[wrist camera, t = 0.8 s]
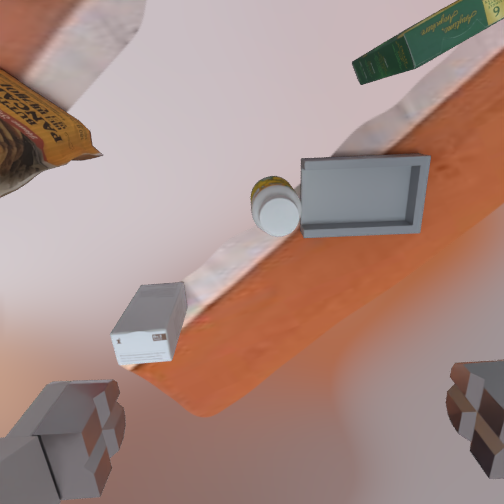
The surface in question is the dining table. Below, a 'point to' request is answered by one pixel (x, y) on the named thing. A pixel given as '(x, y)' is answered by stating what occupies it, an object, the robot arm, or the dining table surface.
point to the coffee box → (428, 39)
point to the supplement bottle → (275, 206)
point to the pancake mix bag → (35, 135)
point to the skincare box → (150, 324)
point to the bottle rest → (363, 195)
